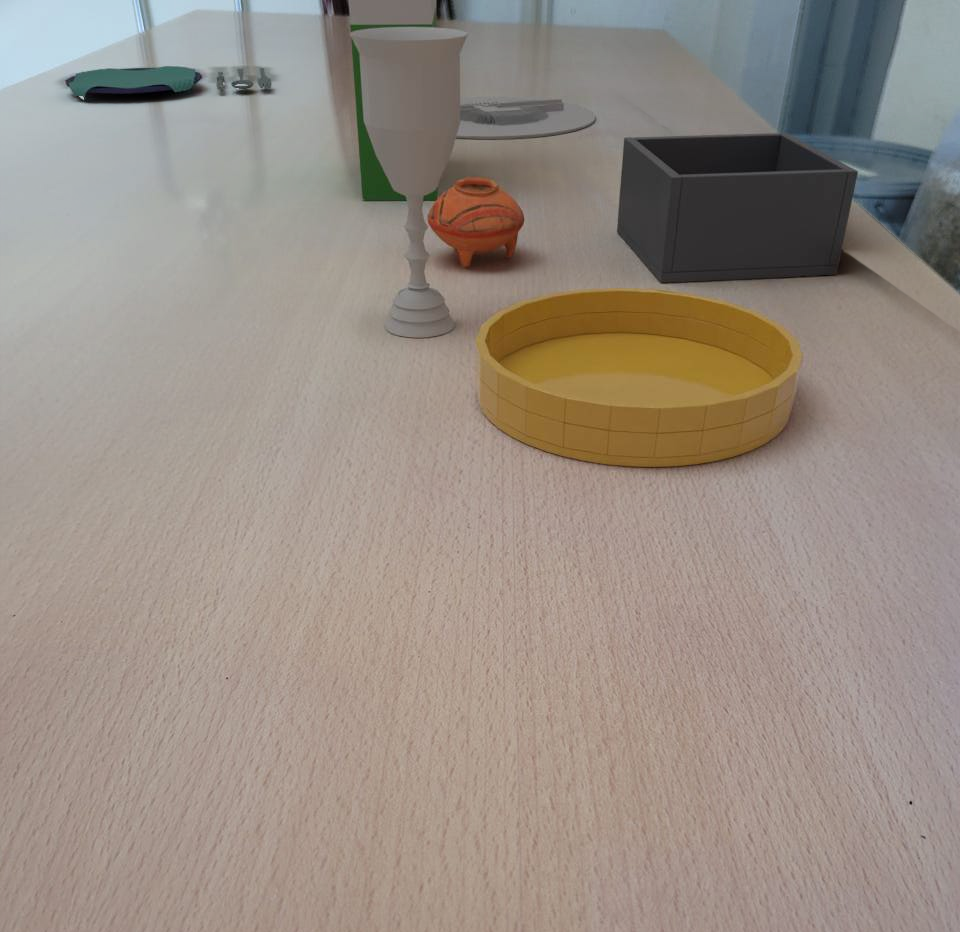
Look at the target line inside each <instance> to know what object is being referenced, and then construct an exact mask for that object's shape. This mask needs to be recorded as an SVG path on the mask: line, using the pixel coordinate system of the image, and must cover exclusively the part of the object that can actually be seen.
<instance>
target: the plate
mask: <svg viewBox="0 0 960 932" xmlns="http://www.w3.org/2000/svg"><path fill="white" fill-rule="evenodd" d="M595 121H596V115H595V113H594V111H592V110H590V109H588V108H586V107H583V106H581V105H577V104H572V103H567V102H563V99H562V98H557V99H556V98H553V99H552V98H551V99H549V98H548V99H538V98H525V97H510V96H509V97H506V96H469V97H460V125H459V129H458V132H457V136H456V139H467V140H468V139H469V140H474V139H475V140H514V139H516V140H517V139H531V138H532V139H533V138H541V137H550V136H556V135H563V134H568V133H572V132H576V131H579V130H582V129H584V128H587V127H590V126H591V125H592V124H594V123H595Z"/></svg>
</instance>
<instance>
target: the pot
mask: <svg viewBox="0 0 960 932" xmlns="http://www.w3.org/2000/svg"><path fill="white" fill-rule="evenodd" d="M427 223H428V227H430V229H431V230H432V232H433V233H434V234H435V236H437V237H438V238H439V239H440V240H441V241H442V242H443V243H445V244H446V245H447V246H449V247H450V248H452V249H453V250H454V252H457V256H458V259H459V262H460V264H461V267H462V268H470V266H471V264H472V259H473V255H474V254H485V253H491V252H492V251H495V250H497V249H501V248H502V247H504V248H505V253H506V257H507V258H511V257H512V256H513V255H514V254H515V251H516V247H517V244H518V239H519V238H518V237H519V232H520V230H521V229H522V228H523V226H524V224H525V216H524V212H523V210H522V208H521V207H520V205H519V204H518V202H517V201H516V200H515V199H514V197H512V196H511V195H510V194H509V193H508V192H507V191H505V190H504V189H502V188H500V185H499V184H497V183H496V182H495V181H493V179H491V178H488V177H481V176H480V177H479V176H470V177H464V178H463V179H459V180H458V179H457V180H456V181H454V182H453V186H451V187H449V188H448V189H446V190H445V191H444V192H442V194H441V195H439V197H437V200H434V201H433V204H432V206H431V207H430V209H429V211H428V213H427Z"/></svg>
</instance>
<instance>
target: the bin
mask: <svg viewBox="0 0 960 932" xmlns="http://www.w3.org/2000/svg"><path fill="white" fill-rule="evenodd" d="M621 161H622V162H621V175H620V184H619V185H620V187H619V200H618V212H617V225H616V232H617V234H618V235H619V236H620V237H621V238H622V240H623V241H624V242H625V243H626V244H627V245H628V246H629V248H630V249H631V250H632V251H633V252H634V254H635V255H636V256H637V257H638V258H639V260H641V262H642V264H644V265H645V266H646V267H647V269H648V270H649V271H650V272H651V274H652V275H653V276H654V277H655V278H656V279H657V280H658V281H659V283H661V284H667V283H670V284H671V283H688V282H689V283H691V282H713V281H716V282H717V281H734V280H735V281H736V280H755V279H757V280H758V279H759V280H760V279H779V278H800V277H801V276H805V277H822V276H821V275H827V276H836V275H837V273H838V269H839V264H840V259H841V255H842V250H843V244H844V241H845V235H846V231H847V225H848V222H849V216H850V211H851V207H852V203H853V197H854V192H855V188H856V184H857V179H858V174H859V171H858V170H857V169H855V168H852V167H851V166H849V165H847V164H845V163H844V162H842V161H839V160H838V159H836V158H834V157H832V156H830V155H828V154H827V153H825V152H823V151H821V150H819V149H817V148H815V147H814V146H812V145H810V144H808V143H806V142H804V141H802V140H801V139H799V138H797V137H795V136H793V135H791V134H789V133H787V132H780V133H779V132H778V133H777V132H772V133H769V132H768V133H738V134H737V133H735V134H705V135H703V134H702V135H701V134H699V135H698V134H697V135H668V136H666V135H665V136H637V137H636V136H634V137H633V136H631V137H630V136H629V137H624V138H623V149H622V160H621ZM835 274H836V275H835ZM818 275H820V276H818ZM801 278H802V277H801Z"/></svg>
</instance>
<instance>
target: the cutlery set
mask: <svg viewBox="0 0 960 932" xmlns="http://www.w3.org/2000/svg"><path fill="white" fill-rule="evenodd" d="M259 74H260V77H258V78H257V85H258V87H259V88H260V89H263V88H264V89H267V88H268V89H271V88H272V84H273V83H272V78H271V77H268V75H266V72H265V68H264V67H260V68H259ZM217 75H218V76H216V89H217V90H218V91H224V85H223V82H225V83H226V79H225V76H224V72H223V71H218V72H217ZM222 75H223V76H222ZM237 75H238V77H239V80H234V81H232V82H231V83H230V85H231V87H233V89H236V88H239V89H247V88H250V89H251V88H252V87H253V86H254V82H253V81H251V80H247V79H244V68H237ZM202 79H203V75H202V74H201V72H198V71H196V68H191V67H186V66H176V65H175V66H172V65H165V66H159V67H133V68H110V67H109V68H98V69H92V70H87V71H81V72H77V73H75V75H73V76H70V77H68V78H67V79H65V80H64V82H65V84H66V87H68V88H69V89H70V91H71V92H72V94H74V95H75V96H76V97H77V96H83V97H85V98H86V93H93V94H145V93H154V92H155V93H156V92H164V91H174V93H179V92H186V91H189V90H191V88H192V87H193V86H194V85H196V84H197V83H199V82H200V81H201V80H202ZM237 84H246V85H248V86H235V85H237ZM247 90H248V89H247Z"/></svg>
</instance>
